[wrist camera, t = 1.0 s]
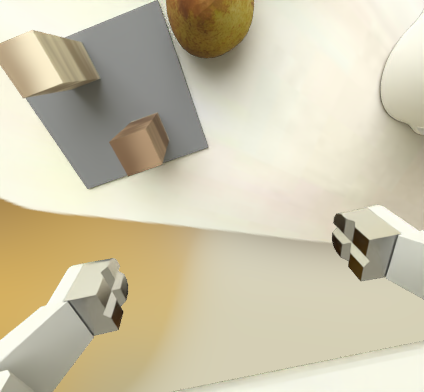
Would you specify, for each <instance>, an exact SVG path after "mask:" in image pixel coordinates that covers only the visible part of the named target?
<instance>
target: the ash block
mask: <svg viewBox="0 0 424 392" xmlns="http://www.w3.org/2000/svg"><path fill="white" fill-rule="evenodd" d="M0 65H1V67H2V68H3V70H4V71H5V72H6V74H7V75H8V77H9V78H10V80H11V81H12V83H13V84H14V86H15V87H16V88H17V90H18V91H19V93H20V94H21V96H22V97H23V98H27V97H33V96H38V95H44V94H50V93H55V92H61V91H66V90H72V89H75V88H77V87H80V86H83V85H85V84H88V83H90V82H93V81H95V80H98V79H101V78H100V76H99V74H98V72H97V70H96V68H95V66H94V64H93V62H92V60H91V58H90V56H89V54H88V52H87V50H86V48H85V46H84V44H83V42H79V41H75V40H71V39H67V38H63V37H59V36H55V35H51V34H46V33H42V32H38V31H34V30H31V31H29V32H26V33H24V34H21V35H19V36H16V37H14V38H12V39H9V40H7V41H4V42H2V43H0Z"/></svg>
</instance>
